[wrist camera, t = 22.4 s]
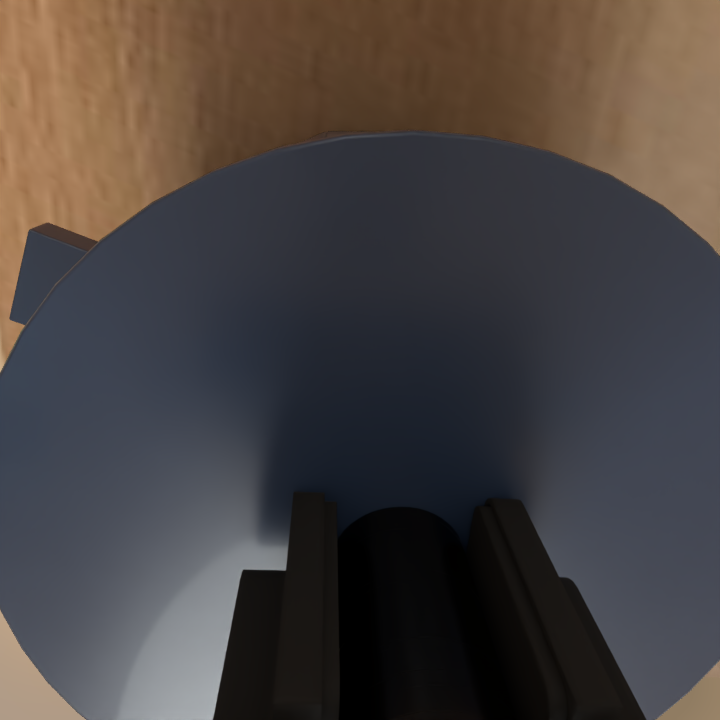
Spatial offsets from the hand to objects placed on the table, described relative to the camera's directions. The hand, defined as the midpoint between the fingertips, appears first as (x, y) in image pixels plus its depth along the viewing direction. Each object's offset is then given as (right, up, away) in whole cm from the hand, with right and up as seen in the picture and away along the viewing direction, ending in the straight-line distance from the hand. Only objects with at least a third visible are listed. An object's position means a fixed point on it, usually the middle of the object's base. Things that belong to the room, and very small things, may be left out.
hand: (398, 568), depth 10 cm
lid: (0, 0, +1) cm, 1 cm away
